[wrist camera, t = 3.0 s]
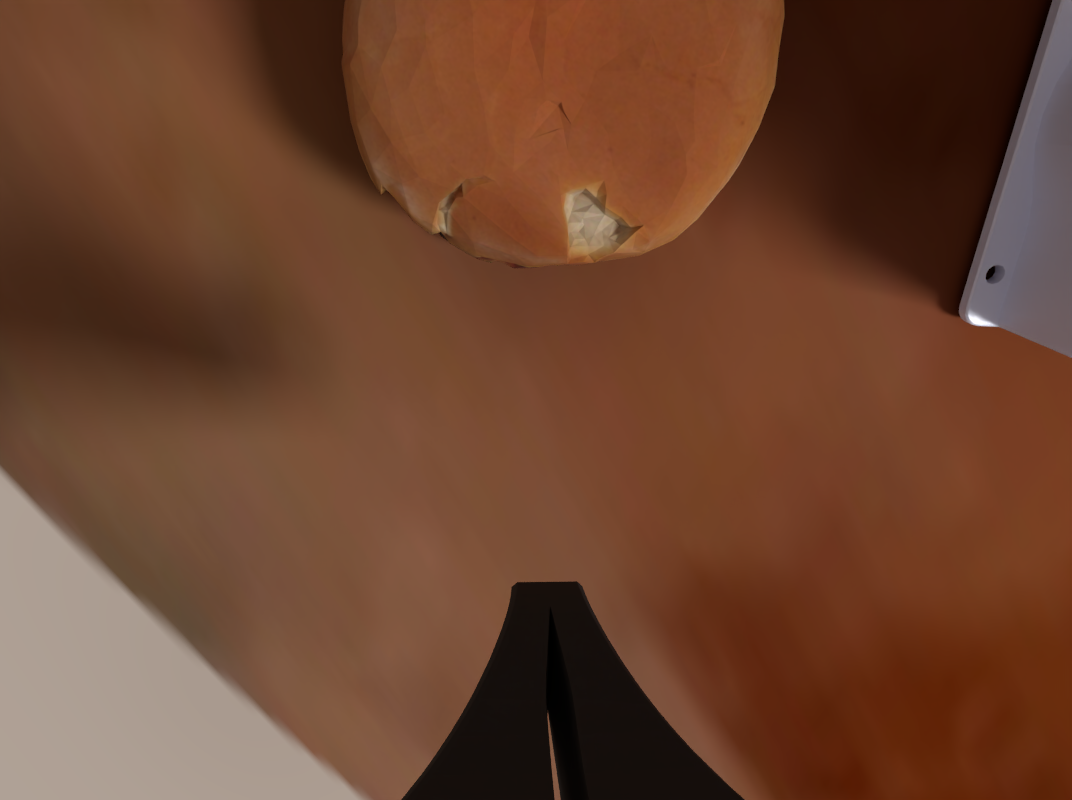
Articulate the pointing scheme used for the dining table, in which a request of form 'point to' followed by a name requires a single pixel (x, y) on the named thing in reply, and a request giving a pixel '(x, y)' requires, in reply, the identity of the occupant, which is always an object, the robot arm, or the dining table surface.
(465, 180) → the burger
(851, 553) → the dining table surface
